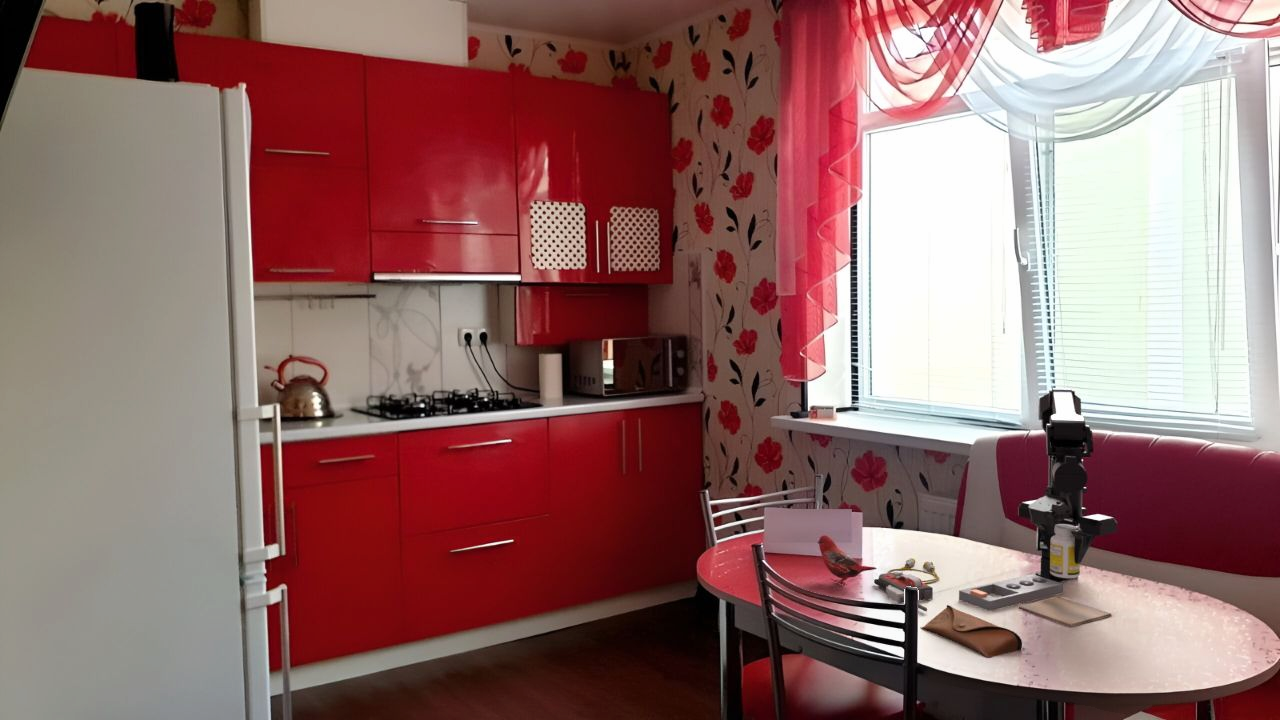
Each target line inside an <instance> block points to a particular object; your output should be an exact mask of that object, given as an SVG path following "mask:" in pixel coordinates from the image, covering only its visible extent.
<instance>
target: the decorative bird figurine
mask: <svg viewBox="0 0 1280 720" xmlns="http://www.w3.org/2000/svg"><path fill="white" fill-rule="evenodd" d="M816 543H817V544H818V546H819V550H820V553H821V558H822V561H823V563H824V565H825V567H826V568H827V569H828V571H829V572H830V573H831V574H832V575H834V576H836V577H838V578H839V580H838V579H833V578H830V580H831V581H833V582H834V583H835V582H837V583H840V584H839V585H842V584H843V585H842V586H848V584H847V583H846V582H845V581H846V580H847V579H849V578H855V577H857V576H858V575H859V574H861V573H862V572H863V573H864V572H866V571H867V572H868V571H872V570H873V571H875V570H878V569H877V567H876V566H875V567H874V566H867V565H861V564H859V562H858V561H856V560H855V559H854V558H853V557H852V556H850V555H849V554H848V553H846V552H845V551H843V550H842V549H841V548H839V547H838V545H837V544H836V543H835V541H834V540H833V539H832V538H831V537H829V535H826V534H823V535H821V536H820V537H819V540H818V541H817V542H816ZM837 583H836V584H837Z"/></svg>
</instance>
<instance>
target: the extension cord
mask: <svg viewBox="0 0 1280 720" xmlns="http://www.w3.org/2000/svg"><path fill="white" fill-rule="evenodd" d="M914 565H916V560H915V558H909V559H907V560H906V561H905V564H904V566H903V567H900V568H893V569H889V570H888V571H887V572H886V573H893V572H895V571H916V572H921V573H925V574H929V575H931V576H933V577H936V578H933V579H927V580H921V581H922V583H924V584H926V585H930V584H935V583H937V582H939V581H940V577H939V575H938V574H937V573H936V572H935V570H936V566H934V563H933V561H931V562H930V561H925V562H924V564H923V565H922V566H923V569H925V570H926V571H925V570H921V569H916V568H913V567H914Z"/></svg>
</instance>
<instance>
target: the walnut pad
mask: <svg viewBox="0 0 1280 720" xmlns="http://www.w3.org/2000/svg"><path fill="white" fill-rule="evenodd" d="M1018 610H1021V611H1023V612H1025V613H1026V612H1027V613H1028V614H1029V613H1030V614H1032V615H1035V616H1038V617H1041V618H1043V619H1046V620H1049V621H1053V622H1055V623H1058V624H1061V625H1064V626H1067V627H1068V628H1069V627H1070V628H1071V627H1075V626H1079V625H1083V624H1087V623H1090V622H1094V621H1097V620H1098V621H1099V620H1100V619H1104V618H1108V617H1112V613H1111V612H1108V611H1106V610H1102V609H1099V608H1095V607H1092V606H1090V605H1087V604H1084V603H1080V602H1077V601H1074V600H1071V599H1068V598H1065V597H1062V596H1055V597H1050V598H1047V599H1044V600H1043V599H1042V600H1039V601H1035V602H1031V603H1027V604H1022V605H1018Z"/></svg>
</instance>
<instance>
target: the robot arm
mask: <svg viewBox="0 0 1280 720" xmlns="http://www.w3.org/2000/svg"><path fill="white" fill-rule="evenodd" d="M1038 420H1039V421H1041V428H1042V430H1043V432H1044V433H1045V439H1046V440H1045V441H1046V442H1045V443H1046V456H1048V486H1046V487H1045V490H1044V496H1042V497H1039V498H1038V499H1035V500H1034V499H1033V500H1029V501H1028V500H1027V501H1022V502H1021V503H1020V504H1019V506H1018V508H1017V515H1018V517H1020V518H1024V519H1028V520H1030V523H1031V524H1032V525H1034V526H1036V538H1035V539H1036V543H1035V544H1036V550H1037V551H1038V552H1041V557H1040V571H1037V572H1035V573H1034V575H1037V576H1040V577H1043V578H1047V579H1050V580H1053V581H1056V582H1060V583H1063V582H1068V581H1071V580H1076V579H1078V578H1079V576H1078V577H1076V578H1061V577H1056V576H1054V575H1052V574H1051V573H1050V541H1051V537H1052V536H1054V535H1056V533H1055V531H1054V529H1055V525H1057V524H1068V525H1073V526H1076V528H1077V530H1075V531H1071V533H1072V535H1073V536H1074V538H1075V563H1076V564H1079V563H1080V564H1081V563H1082V561H1083V560H1084V557H1085V556H1086V553H1087V552H1088V550H1089V548H1090V546H1091V544H1093V541H1094V540H1095V539H1096V537H1097V536H1098V537H1101V536H1105V535H1110V534H1113V533H1114V534H1115V533H1117V532H1118V522H1117V520H1116V519H1115V517H1112V516H1108V515H1105V514H1099V513H1096V514H1091V515H1086V516H1085V515H1084V514H1087V508H1086V507H1083V494H1087V492H1088V491H1087V489H1088V488H1087V487H1086V486H1087V483H1088V474H1087V471H1086V469H1085V467H1084V464H1083V463H1084V459H1083V458H1091V453H1094V439H1093V438H1094V437H1093V430H1091V427H1090V425H1088V424H1086V419H1085V417H1084V416H1082V399H1081V397H1079V396H1078V395H1076V391H1075V389H1072V388H1068V387H1067V388H1060V387H1059V388H1058V387H1053V388H1052V389H1051V388H1049V389H1048V393H1046V394H1044V395H1043V396H1040V398H1039V399H1038Z"/></svg>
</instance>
